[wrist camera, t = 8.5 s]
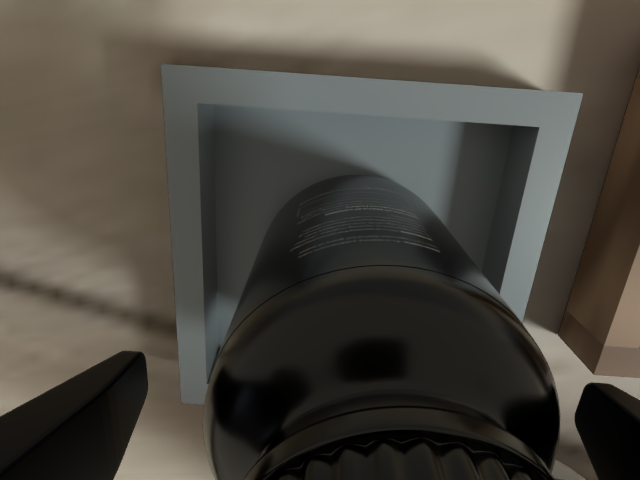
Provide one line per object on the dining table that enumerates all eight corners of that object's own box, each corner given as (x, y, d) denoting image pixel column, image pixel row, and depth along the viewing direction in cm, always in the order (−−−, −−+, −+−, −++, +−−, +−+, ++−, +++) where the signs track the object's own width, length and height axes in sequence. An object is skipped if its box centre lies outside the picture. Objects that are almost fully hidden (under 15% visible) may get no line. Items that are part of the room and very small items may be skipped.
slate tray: (476, 386, 18) (494, 425, 16) (198, 367, 18) (181, 403, 16) (546, 91, 14) (583, 93, 12) (185, 66, 14) (160, 63, 12)
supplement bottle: (233, 292, 16) (21, 744, 5) (317, 134, 14) (269, 323, 3) (383, 365, 17) (480, 876, 6) (483, 228, 15) (907, 630, 4)
